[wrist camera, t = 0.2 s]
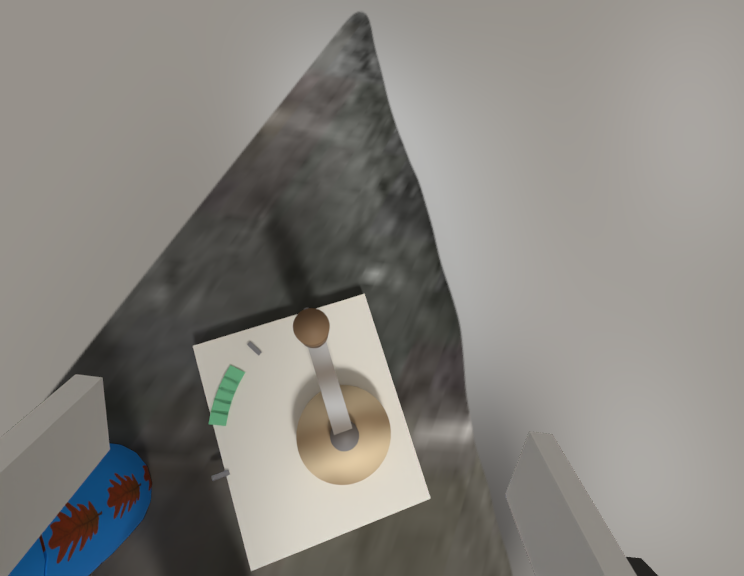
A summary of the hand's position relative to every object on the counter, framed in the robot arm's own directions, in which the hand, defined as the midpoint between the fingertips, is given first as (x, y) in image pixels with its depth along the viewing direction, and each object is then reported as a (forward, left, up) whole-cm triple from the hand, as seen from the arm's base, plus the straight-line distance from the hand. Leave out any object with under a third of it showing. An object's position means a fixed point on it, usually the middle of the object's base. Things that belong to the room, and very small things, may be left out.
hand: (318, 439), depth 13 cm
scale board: (-4, +2, -35) cm, 35 cm away
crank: (-2, -1, -33) cm, 33 cm away
